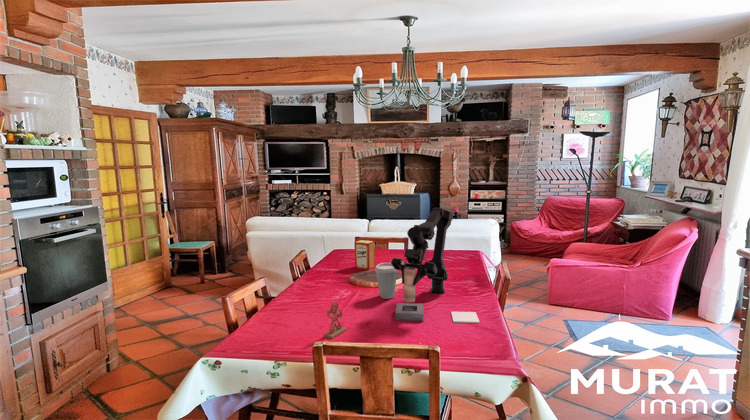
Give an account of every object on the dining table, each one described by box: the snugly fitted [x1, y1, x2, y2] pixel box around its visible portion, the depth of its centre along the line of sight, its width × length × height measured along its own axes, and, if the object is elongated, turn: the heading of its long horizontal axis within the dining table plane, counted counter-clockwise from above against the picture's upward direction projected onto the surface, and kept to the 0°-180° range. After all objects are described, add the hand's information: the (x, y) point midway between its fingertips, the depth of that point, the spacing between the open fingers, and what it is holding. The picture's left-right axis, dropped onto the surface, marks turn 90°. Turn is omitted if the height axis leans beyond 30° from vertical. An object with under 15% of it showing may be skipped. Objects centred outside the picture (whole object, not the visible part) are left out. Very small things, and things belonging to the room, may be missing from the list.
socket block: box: [394, 302, 425, 322], centre depth 164 cm, size 11×11×3 cm
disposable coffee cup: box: [374, 262, 398, 299], centre depth 186 cm, size 11×11×15 cm
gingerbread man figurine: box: [323, 301, 347, 340], centre depth 147 cm, size 9×4×12 cm, turn 147°
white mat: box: [450, 311, 480, 324], centre depth 161 cm, size 10×10×1 cm
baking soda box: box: [354, 239, 376, 271], centre depth 235 cm, size 10×6×16 cm
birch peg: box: [403, 267, 416, 303], centre depth 162 cm, size 4×4×13 cm
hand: (408, 284), depth 161 cm, fingers closed on birch peg, 4 cm apart
